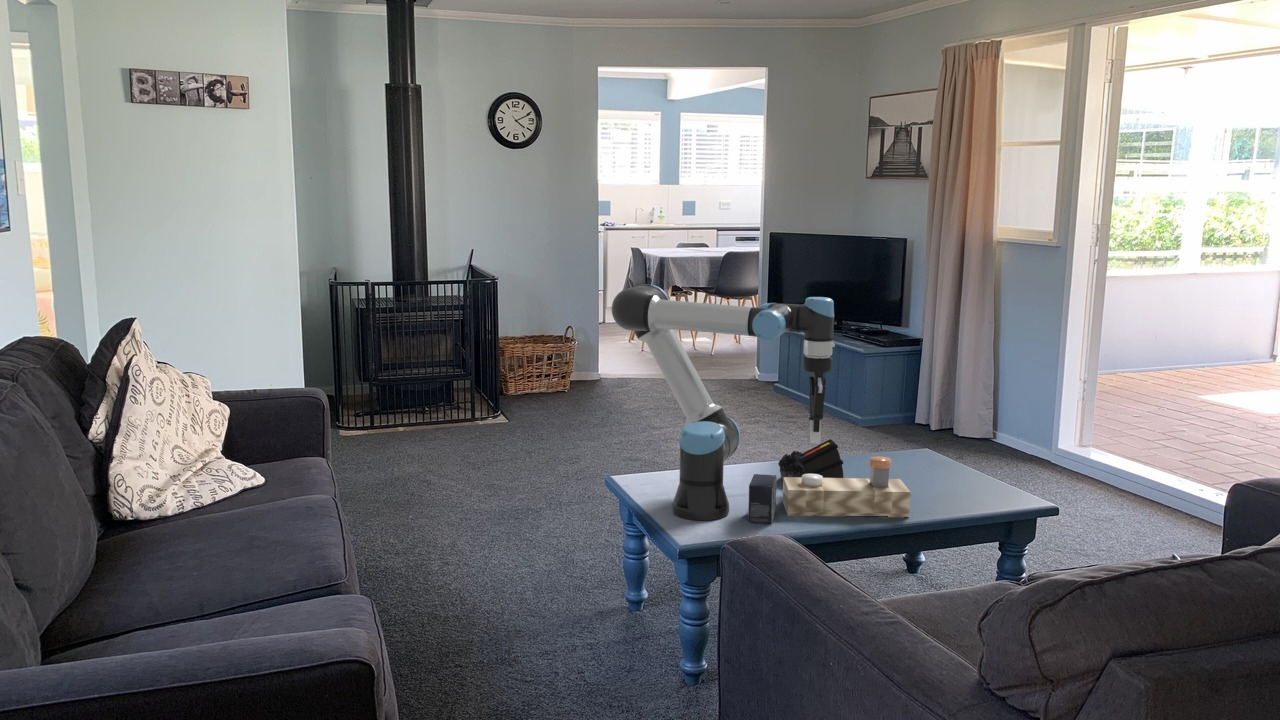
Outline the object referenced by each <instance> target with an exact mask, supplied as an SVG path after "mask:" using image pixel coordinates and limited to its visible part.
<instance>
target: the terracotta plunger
mask: <svg viewBox="0 0 1280 720" xmlns="http://www.w3.org/2000/svg"><path fill="white" fill-rule="evenodd" d="M868 464H869V465H868V466H869V467H870V477H869V479H870V484H871V486H872V487H881V488H888V481H889V479H890V477H889V475H890V469H891V466H892V458H890V457H886V456H879V455H878V456H876V455H875V456H870V457H869V463H868Z"/></svg>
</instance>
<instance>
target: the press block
mask: <svg viewBox="0 0 1280 720" xmlns="http://www.w3.org/2000/svg"><path fill="white" fill-rule="evenodd" d="M782 481H783V482H782V503H783V507H784V509H785V511H786V514H787V515H786V516H789V517H790V516H792V517H793V516H794V517H796V516H799V517H846V516H888V517H887V518H904V517H909V518H910V512H911V511H910V510H911V509H910V508H911V496H912V494H911V491H910V489H909V488H908V487H907V486H906V484H905V483H904V482H903V480H901V478H889V481H888V488H881V487H872V486H871V484H870V478H866V477H865V478H863V477H861V478H859V477H857V478H855V477H844V478H823V484H822V485H821V487H820V486H817V487H811V486H804V485H803V484H802V483H801V482H802V477H783V480H782ZM812 515H813V516H812ZM814 515H816V516H814ZM817 515H818V516H817Z"/></svg>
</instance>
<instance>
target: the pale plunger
mask: <svg viewBox="0 0 1280 720" xmlns="http://www.w3.org/2000/svg"><path fill="white" fill-rule="evenodd" d="M801 483H802V484H803V485H804V486H811V487H817V486H820V487H821V485H822V484H823V476H821V475H819V474H803V475H802V482H801Z"/></svg>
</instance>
